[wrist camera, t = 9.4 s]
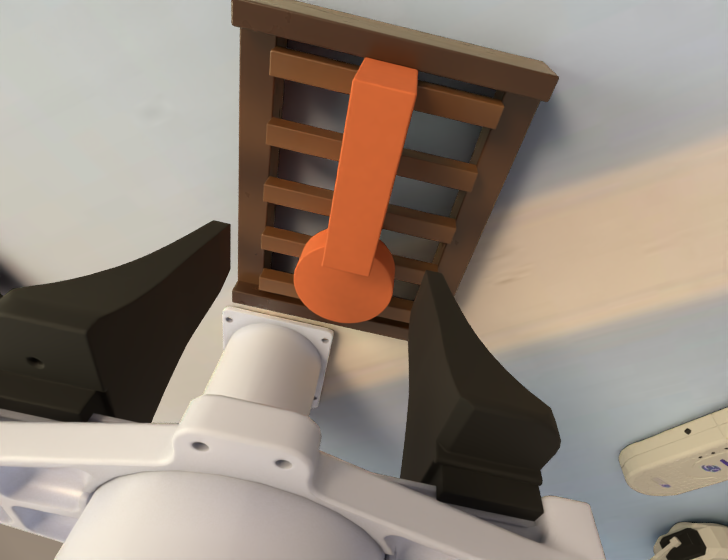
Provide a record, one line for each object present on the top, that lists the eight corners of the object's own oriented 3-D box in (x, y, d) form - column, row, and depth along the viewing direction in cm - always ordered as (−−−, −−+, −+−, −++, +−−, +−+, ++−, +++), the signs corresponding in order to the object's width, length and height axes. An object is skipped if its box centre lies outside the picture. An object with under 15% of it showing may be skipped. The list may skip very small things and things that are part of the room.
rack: (436, 317, 29) (437, 347, 26) (246, 275, 28) (231, 302, 26) (544, 61, 19) (560, 76, 16) (253, -11, 18) (230, -4, 16)
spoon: (327, 47, 17) (307, 67, 14) (455, 78, 17) (461, 104, 14) (296, 291, 25) (280, 335, 22) (383, 310, 25) (378, 356, 22)
